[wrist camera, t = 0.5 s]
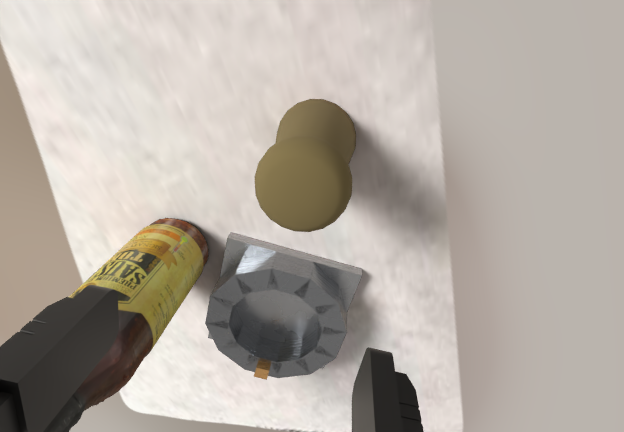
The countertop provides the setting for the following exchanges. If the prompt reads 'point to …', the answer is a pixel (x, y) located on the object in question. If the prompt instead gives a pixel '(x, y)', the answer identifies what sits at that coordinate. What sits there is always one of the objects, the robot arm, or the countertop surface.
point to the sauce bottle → (138, 305)
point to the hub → (279, 308)
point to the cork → (308, 167)
